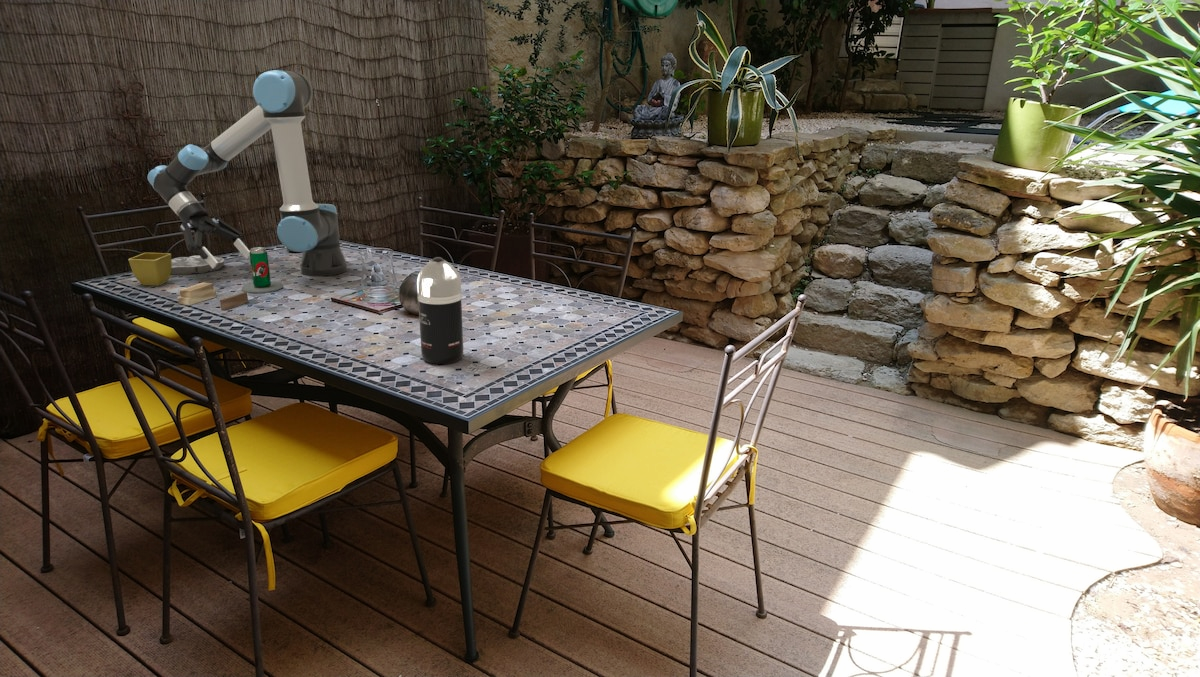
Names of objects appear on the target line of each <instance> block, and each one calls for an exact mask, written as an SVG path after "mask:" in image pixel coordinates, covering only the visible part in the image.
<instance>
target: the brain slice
mask: <svg viewBox="0 0 1200 677" xmlns="http://www.w3.org/2000/svg"><path fill="white" fill-rule="evenodd" d="M212 256H213V257H214V258H215V259H216V260H217V262H218V264H217V265H216V267H215V268H213V269H212V267H211V266H210V265H209V264H208V263H207V262H206V260H205V259H202V258H201V256H200V255H191V256H179V257H175V258H174V257H173V258H171V263H172V268H171V274H170V275H171V276H176V275H175V274H179V275H191V274H192V273H195V274H203V272H205V273H209V272H208V271H210V272H214V271H215V270H216V271H219V270H220V269H221V268H222V267H223V266H224V264H225V259H224V258H223V257H221V256H214V255H212ZM192 275H193V274H192Z"/></svg>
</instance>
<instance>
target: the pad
mask: <svg viewBox="0 0 1200 677" xmlns="http://www.w3.org/2000/svg"><path fill="white" fill-rule="evenodd" d="M283 286H284V283H282V282H279V281H272V280H271V285H270V286H269V287H265V288H257V287H255V286H254V285H253V282H250V283H247V284H244V285H242V286H241V291H242V292H243V291H244V292H249V293H248V294H267V293H266V292H269V293H274V292H278V291H280V290H282V289H284V287H283ZM281 288H282V289H281ZM279 289H280V290H279ZM277 290H278V291H277ZM273 291H274V292H273Z"/></svg>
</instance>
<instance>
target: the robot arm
mask: <svg viewBox="0 0 1200 677" xmlns="http://www.w3.org/2000/svg"><path fill="white" fill-rule="evenodd" d="M313 93H314V92H313V86H312V85H311V82H310V81H309V80H308V78H307V77H306V76H305V75H303V74H302V73H300V72H298V71H294V70H281V69H279V70H278V69H273V70H268V71H265V72H263V73H261V74H259V75H258V77H257V78H256V79H255V81H254V82H253V88H252V94H253V99H254V101H255V102H256V104H257V105H256V106H255V107H254V108H253V109H251V110H250V111H248V113H247V114H245V115H243V117H241V118H240V119H238V120H237V121H236V122H235V123H233V125H231V126H230V127H228V128H227V129H226V130H225V131H223V132H222V133H221V134H220V135H218V136H217V137H215V138H214V139H213V140H212V141H211V142H210V143H208V144H207V145H206V146H204V147H202V148H201V147H199V146H198V145H194V144H192V143H191V144H187V145H185V146H184V148H183V147H182V149H181V150H180V151H179V152H178V154H177V155H176V156H175V157H174V158H173V160H171V162H170V163H169V164H168V165H164V164H163V165H158V166H155V167H154V168H153V169H151V170H150V171H149V172H148V174H147V181H148V182H149V184H150V185H151V187H152V188H153V189H154V191H155V192H156V193H158V195H159V196H160V197H161V198H162V199H163V200H164V202H165V203H166V204H167V205H168V206H169V207H170V209H171V210H172V211H173V213H174V214H176V215H177V217H178V218H179V220H180V221H181V222H182V223H181V225H180V226H179V229H180V231H181V232H182V234H183V237H184V238H183V239H184V241H185V245H186V249H187V252H191V253H193V254H195V255H196V254H198V256H201V258H202V259H205V260H206V262H207V263H208V264H209V265H210V266H211V267H212V269H213V268H215V267H216V265H217V264H218V262H217V260H216V259H215V258H214V257H213V256H214V255H213V254H211V252H210V251H209V250H208V248H206V247H205V246H202V240H203V236H204V235H206V234H209V235H210V234H213V235H217V236H219V237H222V238H225V239H227V240H229V241H231V242H233V245H234V247H235V248H236V249H237V251H239V252H240V254H241V255H242V256H243V257H244V258H245V259H246V260H249V259H250V254H249V252H250V248H248V247H247V246H248V245H247V244H246V243H245V242H244V241H243V240H242V238H243V236H244V233H243V232H241V231H239V229H236V228H235V227H234V226H232V225H230V224H229V223H227V222H226V221H224V220H223V218H221V217H220V216H219V215H215V216H214V217H213V218H211V217H210V216H209V215H208V212H207V210H206V209H205V207H204V206H202V204H201V203H200V202H199V201H198V200H197V198H196V197H195V196H194V195H193V194H192V192H191V191H190V190H189V189H188V186H189V184H190V183H191V182H192V181H193V180H194V179H195V178H196V176H197V177H198V176H200V175H204V174H209V173H216V172H219V171H221V170H224V169H225V168H226V167H227V166H228V163H229V162H230V161H231V160H232V159H233V158H235V157H236V156H237V155H239V154H240V153H241V152H242V151H244V150H245V149H246V148H248V147H249V146H250V145H252V144H253V143H254V142H256V141H257V140H259V138H261V137H262V136H263V135H265V134H266V133H267V132H268V131H270V130H271V134H272V141H273V146H274V148H273V149H274V153H275V159H276V163H277V164H276V165H277V171H278V176H279V182H280V183H279V184H280V188H281V196H282V201H283V204H282V205H281V207H279V215H280V216H279V217H280V221H279V222H278V225H277V228H276V234H277V238H278V239H279V241H280V243H281V244H282V245H283V246H284V247H286V249H287V248H288V249H290V250H292V251H293V252H298V253H301V252H302V256H301V257H302V258H301V260H300V261H301V262H300V265H299V266H300V274H302V275H306V276H314V277H315V276H316V277H324V276H325V277H326V276H334V275H339V274H343V273H345V272H347V271H348V262H347V260H346V258H345V255H344V254H343V250H342V249H341V243H340V230H339V219H338V214H339V213H338V212H337V211H338V210H337V206H335V204H330V203H316V202H314V200H313V194H312V188H311V180H310V176H309V175H310V174H309V169H308V163H307V162H308V161H307V154H306V150H305V143H304V142H305V141H304V135H303V129H302V122H303V120H304V119H305V118H306V113H305V108H307V107H308V106H309V104H310V103H311V101H312V99H313V95H314V94H313ZM192 231H193V234H192ZM292 251H291V252H292Z"/></svg>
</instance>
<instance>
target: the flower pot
mask: <svg viewBox="0 0 1200 677" xmlns="http://www.w3.org/2000/svg"><path fill="white" fill-rule="evenodd" d="M171 259H172V253H167V252H165V253H164V252H163V253H162V252H142V253H141V254H138V255H136V256H133V257H130V258H128V259H127V260H128V262H129V266H130V269H131V271H132V272H131V273H132V274H133V276H134V277H135V279H136V280H137V281H138V282H139V283H140V285H142V286H157V287H158V286H161V285H163V284H164V283H167V282H168V281H169V278H170V276H171V275H172V274H171V268H172V263H171Z"/></svg>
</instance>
